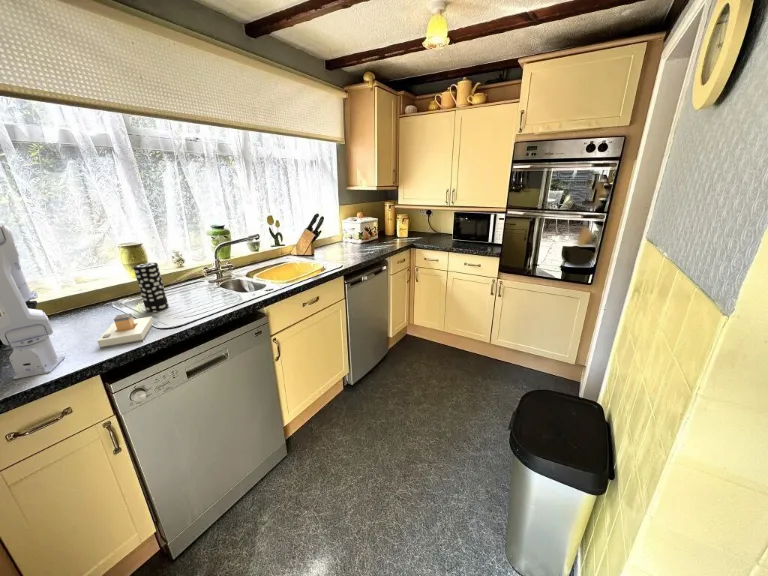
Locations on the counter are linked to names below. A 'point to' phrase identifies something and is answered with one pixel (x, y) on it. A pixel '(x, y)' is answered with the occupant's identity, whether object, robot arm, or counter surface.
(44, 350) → the robot arm
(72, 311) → the counter surface
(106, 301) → the counter surface
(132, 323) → the plug
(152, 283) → the white-spotted black cylinder
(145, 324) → the socket
